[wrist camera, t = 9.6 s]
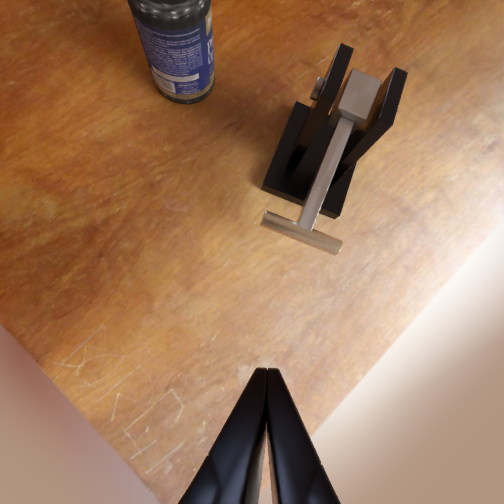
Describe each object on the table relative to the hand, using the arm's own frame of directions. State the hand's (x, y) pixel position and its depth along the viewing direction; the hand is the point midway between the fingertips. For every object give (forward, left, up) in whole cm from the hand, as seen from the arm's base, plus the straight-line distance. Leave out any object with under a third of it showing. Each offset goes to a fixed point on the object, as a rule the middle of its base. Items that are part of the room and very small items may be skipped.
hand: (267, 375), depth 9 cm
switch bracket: (+15, -9, -13) cm, 22 cm away
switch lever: (+12, -7, -7) cm, 16 cm away
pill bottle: (+25, +3, -13) cm, 29 cm away
